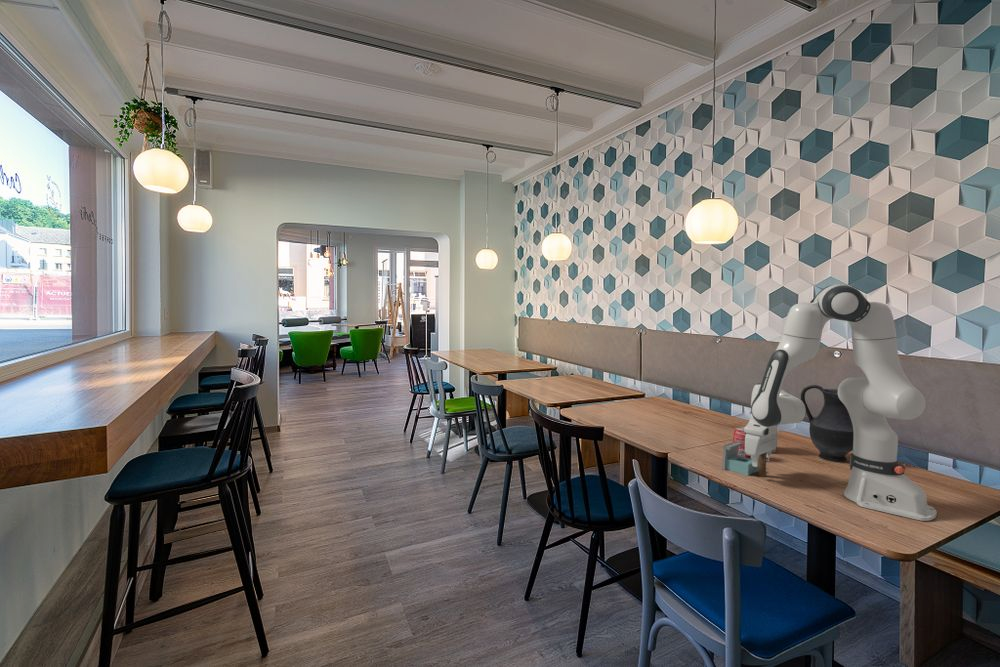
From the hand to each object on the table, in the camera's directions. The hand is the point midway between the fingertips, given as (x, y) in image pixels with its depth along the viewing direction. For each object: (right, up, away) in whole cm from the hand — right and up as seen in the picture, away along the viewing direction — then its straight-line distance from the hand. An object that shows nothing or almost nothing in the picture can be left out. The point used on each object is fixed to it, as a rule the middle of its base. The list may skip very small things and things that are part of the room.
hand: (760, 463), depth 170 cm
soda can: (+4, -4, +22) cm, 22 cm away
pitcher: (+41, -4, +24) cm, 48 cm away
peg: (+1, -5, +1) cm, 5 cm away
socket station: (-4, -4, +6) cm, 8 cm away
